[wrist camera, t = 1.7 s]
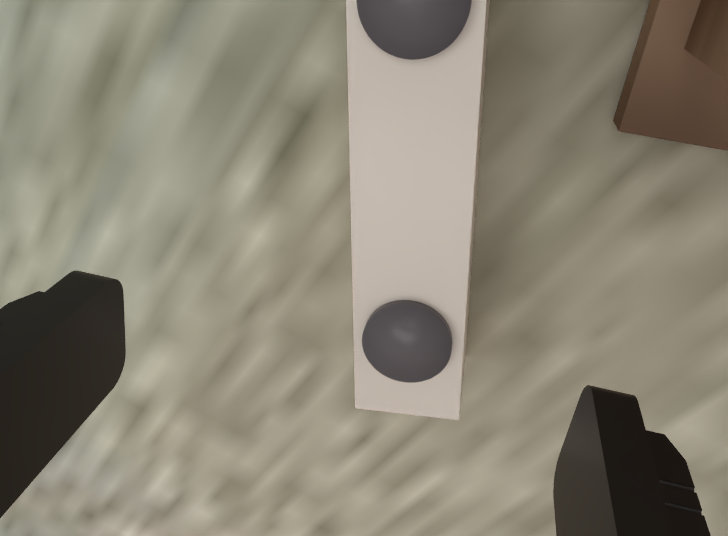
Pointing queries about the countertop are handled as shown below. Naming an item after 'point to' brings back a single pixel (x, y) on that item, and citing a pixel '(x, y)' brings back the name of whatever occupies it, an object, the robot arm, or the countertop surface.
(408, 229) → the frame bar
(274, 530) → the countertop surface
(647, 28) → the stand
